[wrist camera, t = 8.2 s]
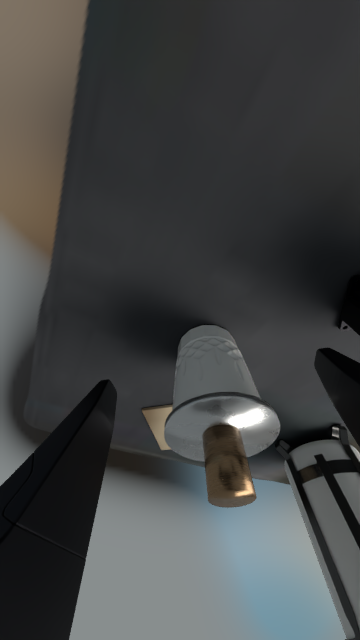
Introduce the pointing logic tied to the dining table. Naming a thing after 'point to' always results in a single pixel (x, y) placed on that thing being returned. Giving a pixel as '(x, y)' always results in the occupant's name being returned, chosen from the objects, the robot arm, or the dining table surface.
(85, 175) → the dining table surface
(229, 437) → the lid
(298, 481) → the coffee press
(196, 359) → the white cup
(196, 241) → the dining table surface
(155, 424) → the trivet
